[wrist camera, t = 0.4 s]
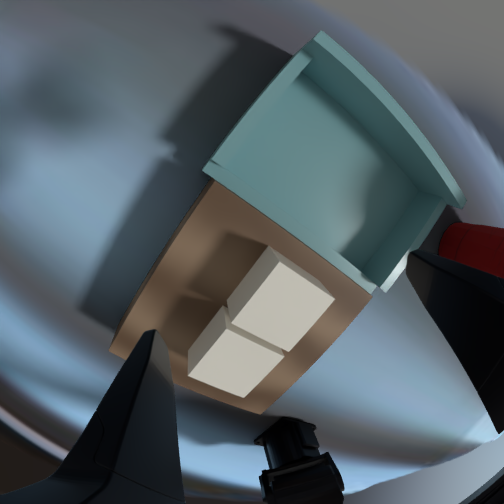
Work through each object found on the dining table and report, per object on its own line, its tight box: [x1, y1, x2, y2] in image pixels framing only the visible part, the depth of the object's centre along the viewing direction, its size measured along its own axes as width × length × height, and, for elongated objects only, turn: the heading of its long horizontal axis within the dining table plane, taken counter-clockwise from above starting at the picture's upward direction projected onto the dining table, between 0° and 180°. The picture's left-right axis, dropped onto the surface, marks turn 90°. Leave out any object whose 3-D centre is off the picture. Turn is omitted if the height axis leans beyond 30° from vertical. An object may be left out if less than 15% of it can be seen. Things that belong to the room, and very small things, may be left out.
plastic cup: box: [439, 222, 504, 279], centre depth 23 cm, size 11×11×12 cm
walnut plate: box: [109, 178, 372, 414], centre depth 24 cm, size 16×16×4 cm
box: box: [202, 30, 467, 294], centre depth 20 cm, size 12×18×6 cm, turn 53°
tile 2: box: [188, 306, 284, 398], centre depth 21 cm, size 5×5×3 cm
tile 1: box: [227, 246, 335, 352], centre depth 20 cm, size 5×5×3 cm
